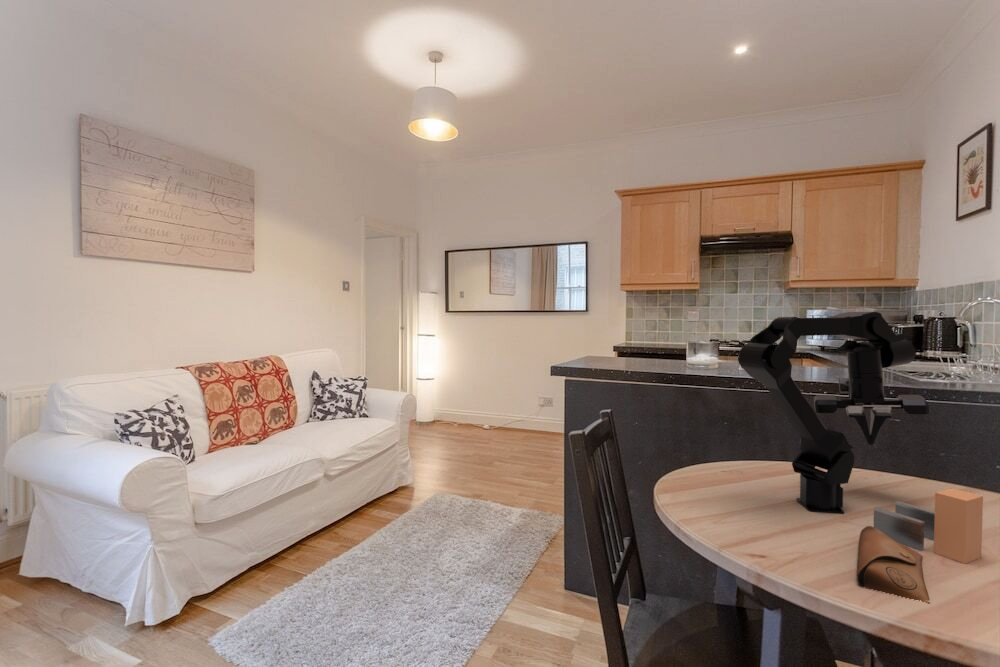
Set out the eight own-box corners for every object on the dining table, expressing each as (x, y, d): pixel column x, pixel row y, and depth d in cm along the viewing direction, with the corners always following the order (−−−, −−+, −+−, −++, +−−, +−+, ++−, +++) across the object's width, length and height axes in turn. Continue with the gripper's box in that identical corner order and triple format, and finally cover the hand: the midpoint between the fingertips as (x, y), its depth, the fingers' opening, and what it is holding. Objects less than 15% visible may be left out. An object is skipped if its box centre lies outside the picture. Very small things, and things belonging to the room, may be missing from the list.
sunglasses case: (936, 606, 64) (904, 557, 66) (878, 616, 68) (849, 569, 70) (923, 554, 79) (897, 515, 81) (876, 565, 83) (852, 526, 84)
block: (933, 552, 79) (935, 492, 79) (950, 546, 81) (951, 488, 81) (965, 563, 75) (966, 500, 75) (981, 557, 77) (983, 496, 77)
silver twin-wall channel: (873, 534, 86) (873, 507, 86) (898, 527, 89) (898, 501, 89) (919, 552, 80) (920, 522, 80) (945, 543, 83) (946, 515, 83)
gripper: (914, 363, 102) (919, 434, 103) (810, 366, 112) (816, 431, 113) (927, 372, 93) (932, 451, 94) (812, 375, 103) (818, 446, 104)
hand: (870, 444), depth 101 cm, fingers closed
